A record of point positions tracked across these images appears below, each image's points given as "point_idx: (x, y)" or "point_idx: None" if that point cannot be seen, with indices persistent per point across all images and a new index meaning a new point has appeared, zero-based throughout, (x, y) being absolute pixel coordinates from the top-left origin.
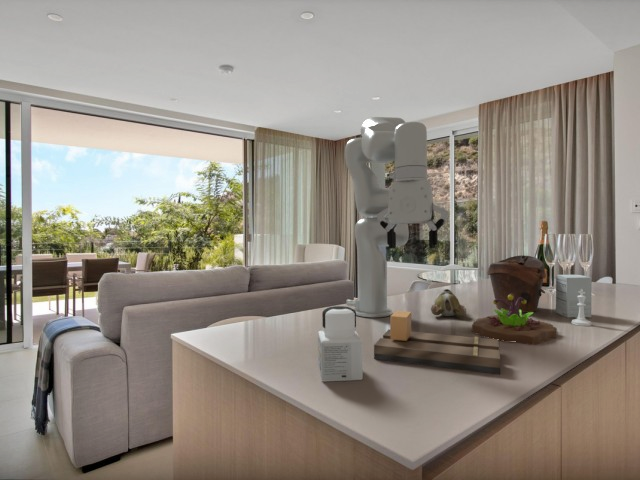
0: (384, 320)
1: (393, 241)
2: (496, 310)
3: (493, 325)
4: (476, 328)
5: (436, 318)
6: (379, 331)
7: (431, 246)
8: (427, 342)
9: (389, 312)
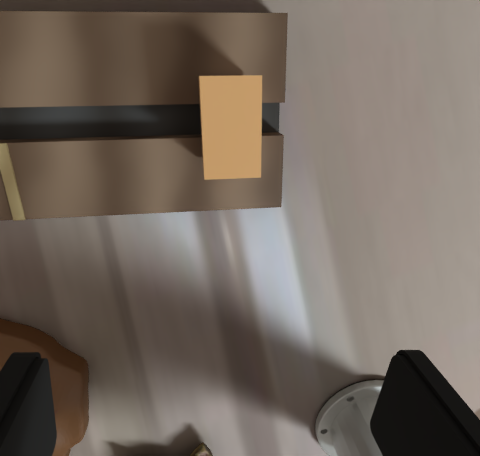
0: (322, 373)
1: (412, 430)
2: None
3: None
4: (69, 362)
5: (198, 439)
6: (315, 274)
7: (15, 357)
8: (148, 137)
9: (320, 422)
